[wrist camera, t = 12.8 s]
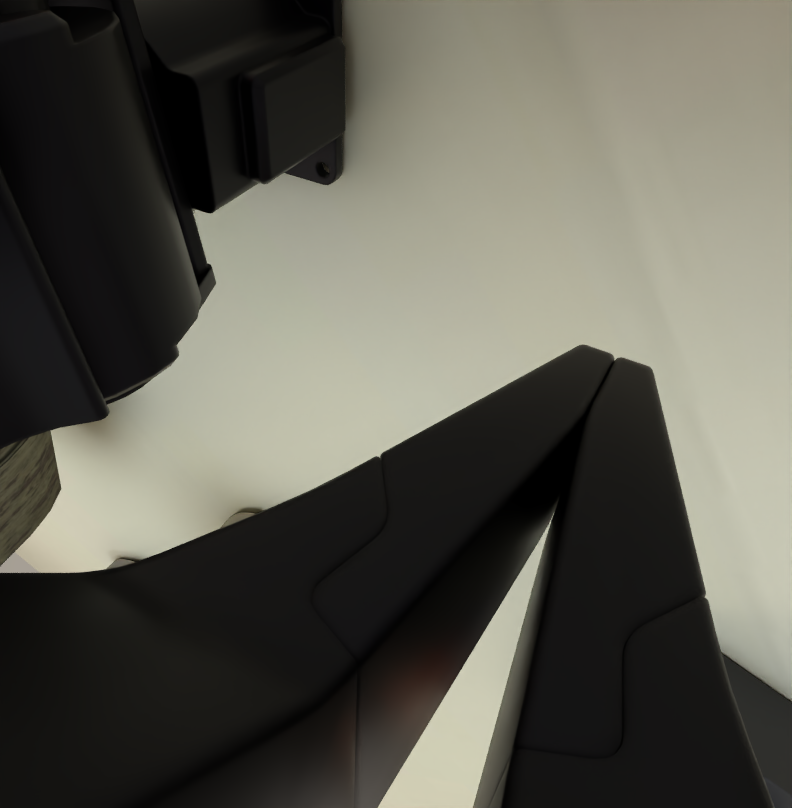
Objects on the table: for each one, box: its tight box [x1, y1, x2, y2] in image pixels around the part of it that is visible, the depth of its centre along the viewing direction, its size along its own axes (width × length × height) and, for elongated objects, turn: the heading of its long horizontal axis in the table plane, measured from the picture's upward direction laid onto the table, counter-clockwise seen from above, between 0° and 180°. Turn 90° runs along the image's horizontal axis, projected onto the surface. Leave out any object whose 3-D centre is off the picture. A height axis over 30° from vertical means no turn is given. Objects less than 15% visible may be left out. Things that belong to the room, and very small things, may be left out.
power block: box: [722, 655, 792, 808], centre depth 30 cm, size 9×11×6 cm
